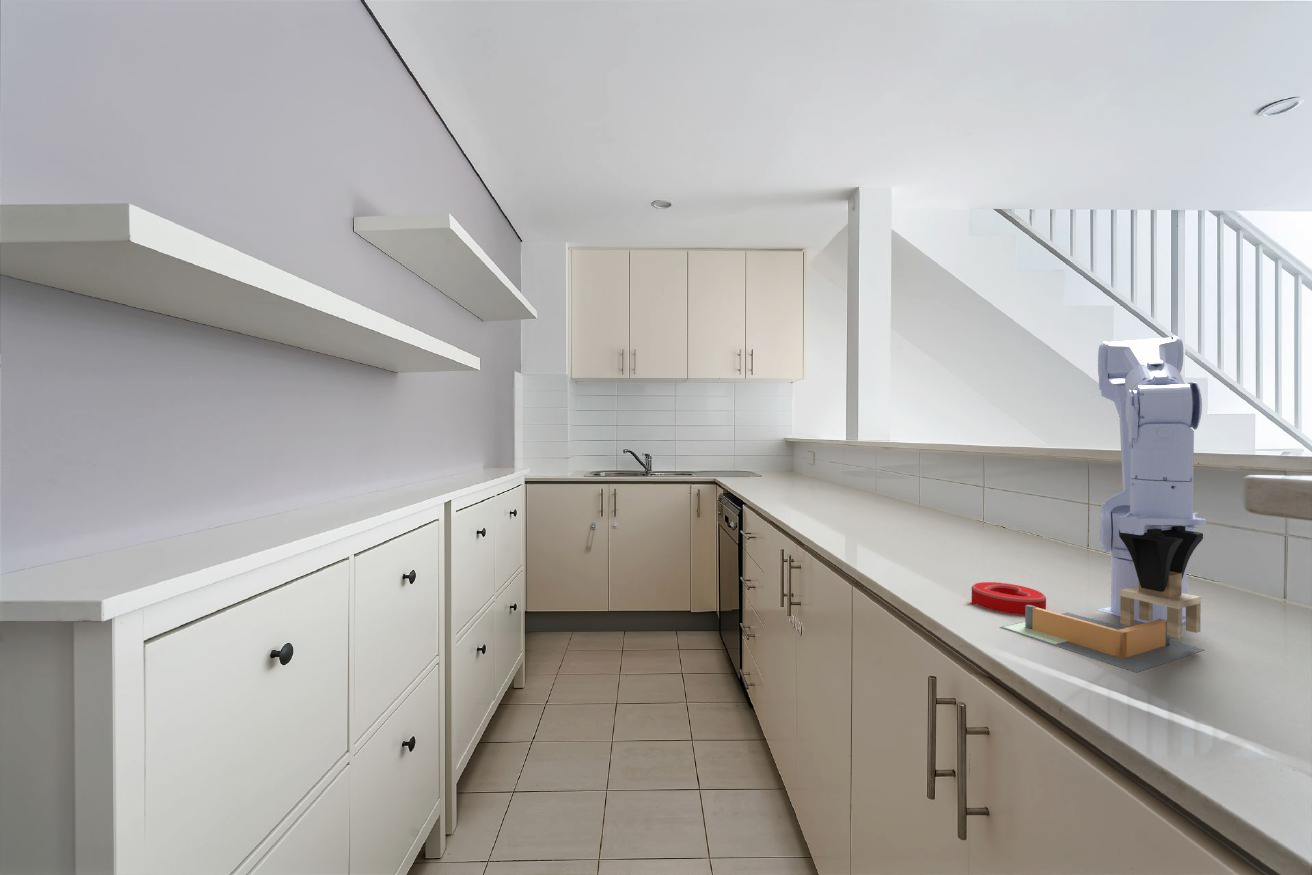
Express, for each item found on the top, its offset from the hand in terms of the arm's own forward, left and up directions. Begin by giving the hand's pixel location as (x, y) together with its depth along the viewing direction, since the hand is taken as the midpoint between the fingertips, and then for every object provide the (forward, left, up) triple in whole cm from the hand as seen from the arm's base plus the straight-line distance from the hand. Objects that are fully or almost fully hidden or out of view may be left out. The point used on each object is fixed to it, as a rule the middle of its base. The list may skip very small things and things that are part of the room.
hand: (1159, 587), depth 66 cm
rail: (+4, -5, -7) cm, 10 cm away
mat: (+5, -4, -8) cm, 10 cm away
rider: (0, 0, -5) cm, 5 cm away
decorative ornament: (+1, -18, -8) cm, 20 cm away
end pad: (+9, -8, -8) cm, 15 cm away
